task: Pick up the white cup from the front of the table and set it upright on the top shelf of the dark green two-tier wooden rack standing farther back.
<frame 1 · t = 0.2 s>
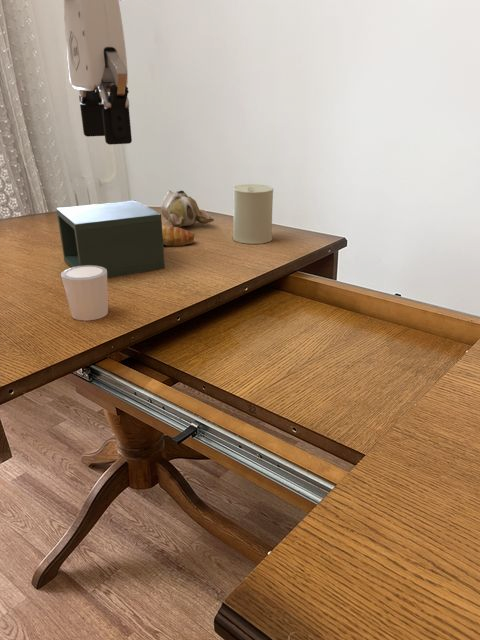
hand: (107, 139, 71), 27 cm above the table, tool pointing down, fingers open, 9 cm apart
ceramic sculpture: (183, 225, 137), on the table
can: (252, 239, 127), on the table
pastry: (170, 243, 123), on the table
rack: (113, 264, 109), on the table
white cup: (90, 314, 87), on the table
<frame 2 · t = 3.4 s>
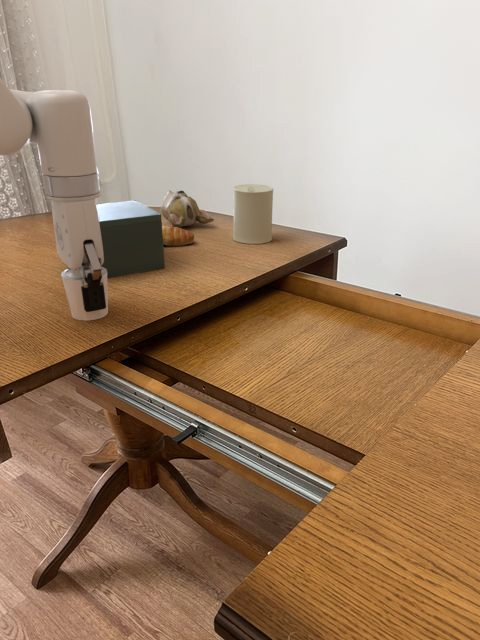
hand: (88, 300, 86), 2 cm above the table, tool pointing down, fingers closed on white cup, 6 cm apart
white cup: (90, 314, 87), on the table, touching gripper
everything else where it was.
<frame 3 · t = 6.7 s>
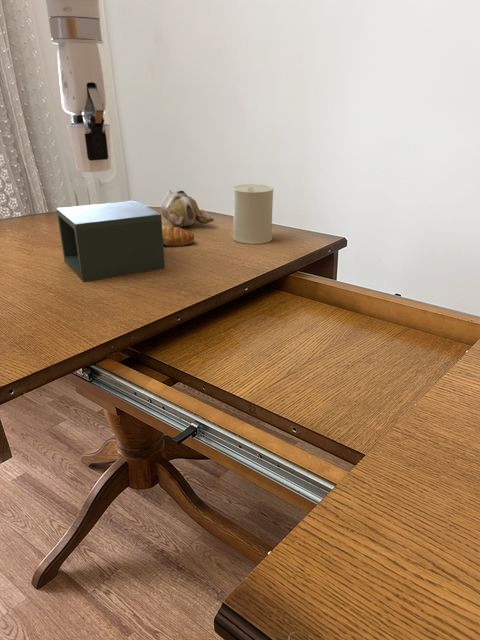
hand: (91, 155, 91), 22 cm above the table, tool pointing down, fingers closed on white cup, 6 cm apart
white cup: (93, 170, 92), point 19 cm above the table, touching gripper
everything else where it was.
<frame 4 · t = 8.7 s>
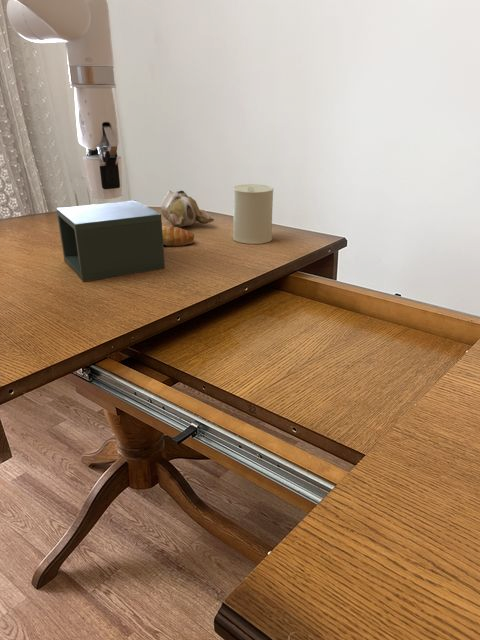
hand: (104, 184, 101), 16 cm above the table, tool pointing down, fingers closed on white cup, 6 cm apart
white cup: (106, 196, 102), point 13 cm above the table, touching gripper
everything else where it was.
when the fingers open (13 cm above the table, at t = 10.0 s): white cup stays where it is, resting on rack.
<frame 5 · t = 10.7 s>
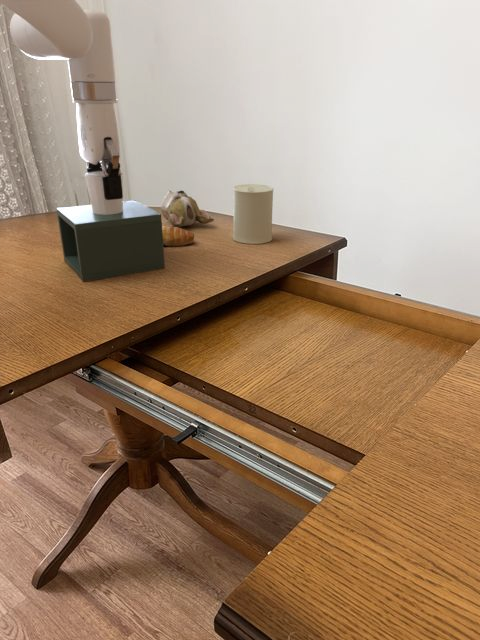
hand: (105, 194, 102), 14 cm above the table, tool pointing down, fingers open, 9 cm apart
white cup: (107, 212, 104), point 10 cm above the table, touching rack
everything else where it was.
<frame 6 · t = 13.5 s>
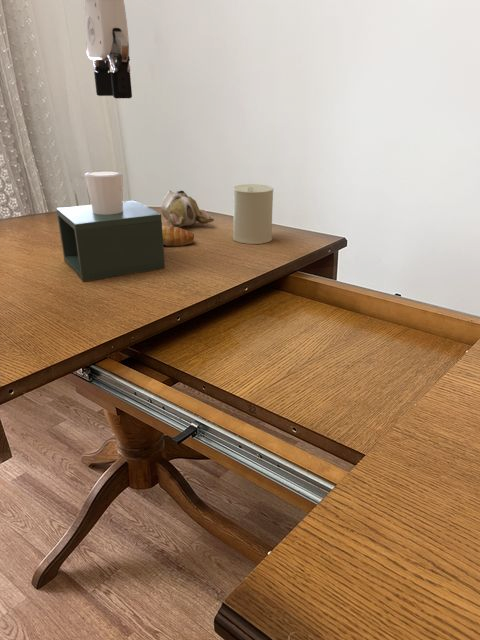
hand: (113, 96, 98), 30 cm above the table, tool pointing down, fingers open, 9 cm apart
nothing on the table moved.
at the end: white cup inside the target area on the rack (0.0 cm from its centre), point 10.4 cm above the rack's base; white cup tilted 0°; the gripper is holding nothing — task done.
